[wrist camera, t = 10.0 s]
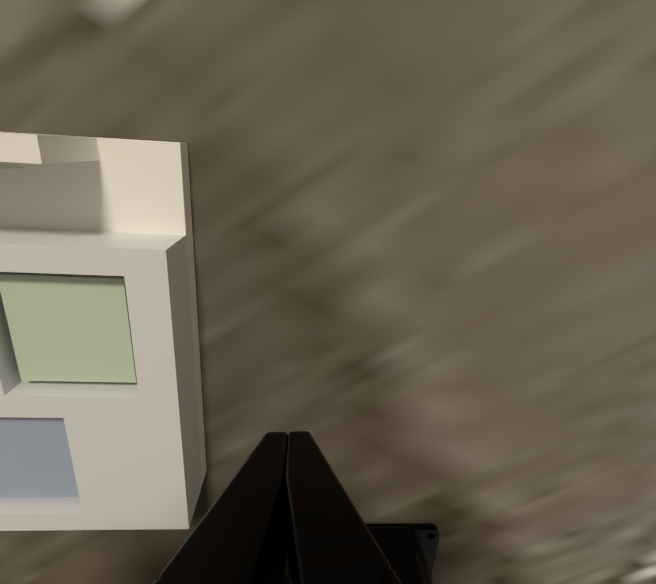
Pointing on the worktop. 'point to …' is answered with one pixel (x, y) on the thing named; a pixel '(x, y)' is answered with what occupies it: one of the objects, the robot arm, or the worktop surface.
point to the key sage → (69, 327)
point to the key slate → (35, 458)
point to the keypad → (145, 322)
